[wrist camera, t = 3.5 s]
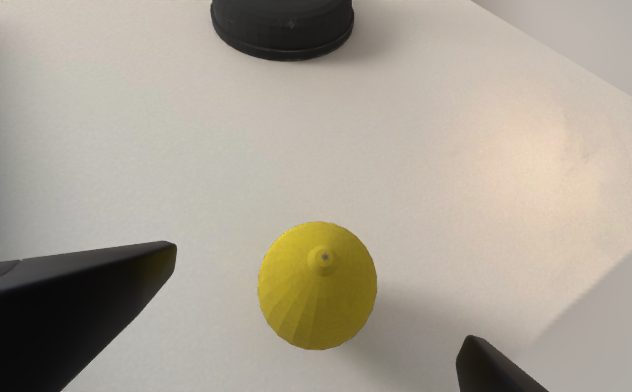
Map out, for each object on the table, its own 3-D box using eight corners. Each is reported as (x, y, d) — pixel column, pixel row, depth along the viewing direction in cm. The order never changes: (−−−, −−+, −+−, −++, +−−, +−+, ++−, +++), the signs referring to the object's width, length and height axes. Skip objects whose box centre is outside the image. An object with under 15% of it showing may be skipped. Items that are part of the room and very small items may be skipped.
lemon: (360, 355, 16) (410, 345, 9) (259, 352, 16) (233, 338, 9) (355, 258, 19) (391, 195, 12) (270, 254, 19) (257, 187, 12)
